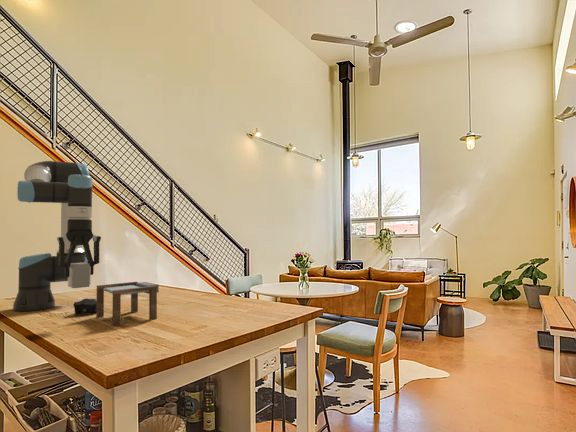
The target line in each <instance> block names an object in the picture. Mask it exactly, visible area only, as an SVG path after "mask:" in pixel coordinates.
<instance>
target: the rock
mask: <svg viewBox="0 0 576 432" xmlns="http://www.w3.org/2000/svg"><path fill="white" fill-rule="evenodd" d="M96 304H97V298H84V299H83V298H82V300H79V301H74V303H73V308H74V314H75V315H76V316H79V315H78V314H81V315H85V314H86V315H88V314H87V313H92V314H96Z"/></svg>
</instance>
